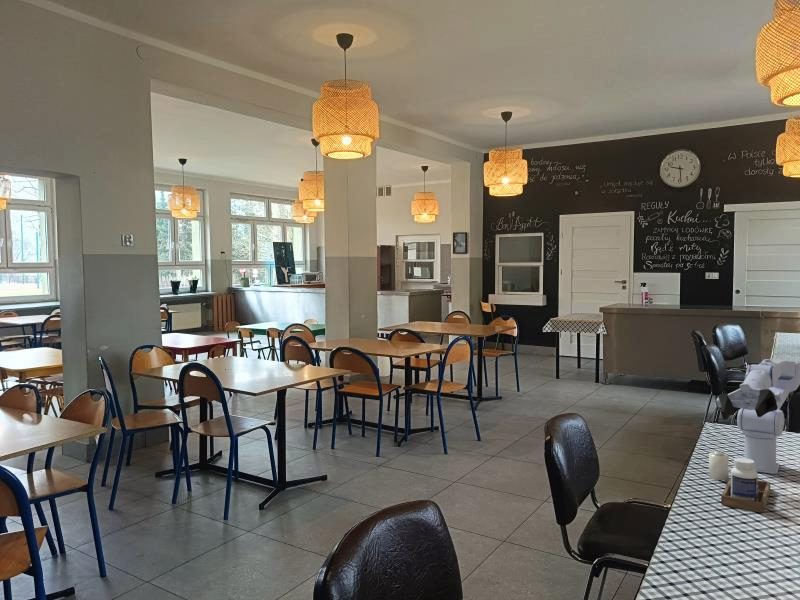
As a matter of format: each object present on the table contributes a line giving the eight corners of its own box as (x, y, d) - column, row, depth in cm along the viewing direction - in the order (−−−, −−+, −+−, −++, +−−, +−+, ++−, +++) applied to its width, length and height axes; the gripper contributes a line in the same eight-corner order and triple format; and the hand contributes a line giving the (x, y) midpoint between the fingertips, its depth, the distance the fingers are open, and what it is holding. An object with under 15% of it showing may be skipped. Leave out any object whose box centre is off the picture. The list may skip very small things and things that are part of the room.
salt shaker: (710, 474, 152) (710, 448, 152) (729, 477, 150) (729, 450, 149) (707, 478, 149) (707, 452, 148) (727, 482, 146) (727, 455, 146)
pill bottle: (762, 507, 130) (762, 464, 129) (735, 506, 131) (735, 463, 130) (752, 498, 135) (752, 457, 135) (727, 497, 136) (727, 456, 136)
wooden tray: (731, 483, 145) (731, 475, 145) (770, 490, 140) (770, 482, 140) (721, 504, 132) (721, 495, 132) (763, 512, 127) (763, 503, 127)
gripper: (718, 379, 155) (703, 402, 145) (780, 372, 144) (768, 396, 135) (727, 403, 155) (713, 427, 146) (789, 398, 145) (778, 423, 135)
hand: (740, 414), depth 140 cm, fingers open, 7 cm apart
